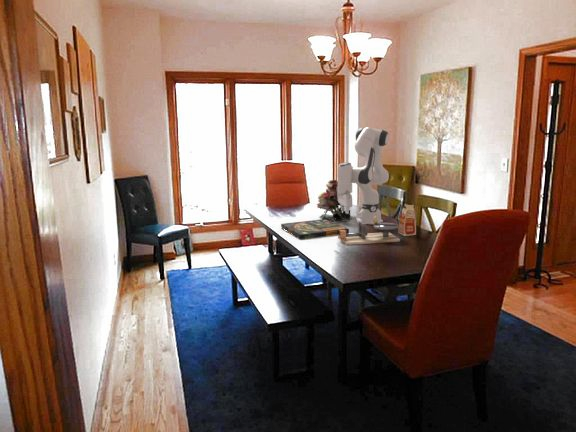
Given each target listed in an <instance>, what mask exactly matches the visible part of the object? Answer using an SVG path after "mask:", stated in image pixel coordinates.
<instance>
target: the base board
mask: <svg viewBox="0 0 576 432" xmlns="http://www.w3.org/2000/svg"><path fill="white" fill-rule="evenodd" d="M366 227H367V224H365V223H364V222H362V221H359V223H358V233H362V236H355V237H346V239H340V238H339V234H338V235H337V238H338V239H339V240H340V241H341V242H342V243H343V245H345V246H349V245H350V246H351V245H366V244H381V243H384V244H385V243H397V242H398V243H399V242H401V239H400V238H399V237H398V236H396V235H394V234H393V233H391V232H390V230H382V232H373V233H372V232H370V233H368V232H367V231H366V229H367V228H366ZM366 232H367V236H366Z"/></svg>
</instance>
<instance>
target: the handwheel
mask: <svg viewBox="0 0 576 432" xmlns="http://www.w3.org/2000/svg"><path fill="white" fill-rule="evenodd" d="M372 225H373V228H374V229H377V230H382V231H383V230H389V231H392V230H393V231H394V230H398V228H399V224H397V223H393V222H381V223H377V217H373V224H372Z"/></svg>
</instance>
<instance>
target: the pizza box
mask: <svg viewBox="0 0 576 432" xmlns="http://www.w3.org/2000/svg"><path fill="white" fill-rule="evenodd" d="M280 226H281V227H282V228H284V229H285V230H287V231H288V232H287V231H286V232H287V233H289V232H290V233H289V234H291V233H292V234H293V236H294V235H295V236H294V237H296V238H297V237H298V238H297V239H299V238H300V239H299V240H304V239H305V238H306V239H312V238H321V237H330V236H338V235H339V230H345V231H346V233H350V229H349V228H348V227H345V226H343V225H342V224H341V225H340V224H338V223H336V222H335V221H329V220H327V219H322V218H320V219H313V220H303V221H297V222H296V221H295V222H286V223H280ZM281 227H280V228H281ZM282 228H281V229H282ZM284 229H283V230H284ZM285 230H284V231H285ZM292 234H291V235H292Z"/></svg>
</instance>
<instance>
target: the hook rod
mask: <svg viewBox="0 0 576 432" xmlns="http://www.w3.org/2000/svg"><path fill="white" fill-rule="evenodd" d="M367 234H368V232H367V231H366V236H367ZM338 235H339V238H340V239H346V237H355V236H362V233H359V232H351V233H350V232H349V233H346V231H345V230H339V234H338ZM339 238H338V239H339ZM340 239H339V240H340Z"/></svg>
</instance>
